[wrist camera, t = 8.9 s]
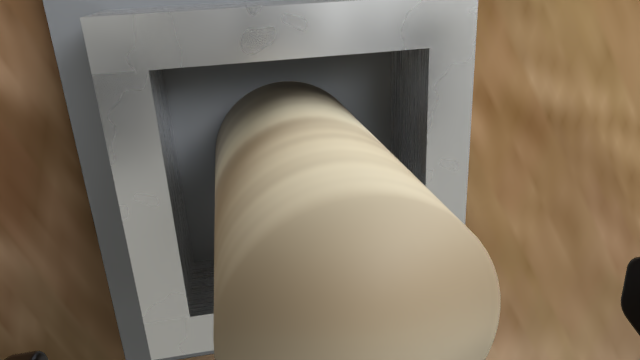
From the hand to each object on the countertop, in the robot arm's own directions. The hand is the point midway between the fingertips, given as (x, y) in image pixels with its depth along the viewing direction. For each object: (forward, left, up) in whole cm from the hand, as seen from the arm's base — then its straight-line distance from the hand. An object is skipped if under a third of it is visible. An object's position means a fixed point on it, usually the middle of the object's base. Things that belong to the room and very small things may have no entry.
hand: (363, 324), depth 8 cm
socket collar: (0, 0, -9) cm, 9 cm away
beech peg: (0, 0, -9) cm, 9 cm away
